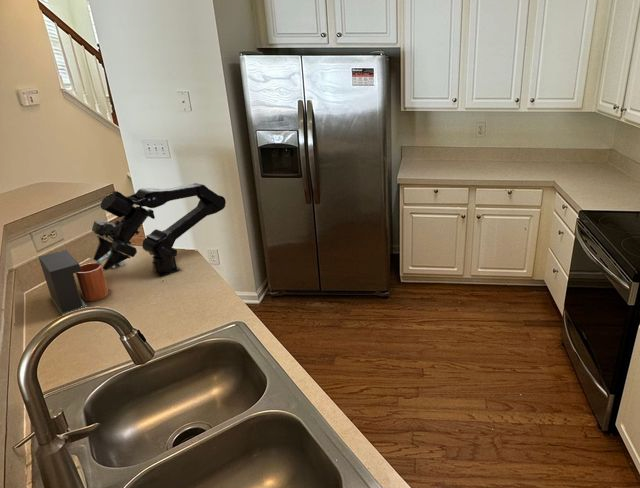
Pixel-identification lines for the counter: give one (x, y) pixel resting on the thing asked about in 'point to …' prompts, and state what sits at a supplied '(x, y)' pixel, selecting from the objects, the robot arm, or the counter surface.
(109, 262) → the robot arm
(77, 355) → the counter surface
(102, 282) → the cup
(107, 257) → the figurine
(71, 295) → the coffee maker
